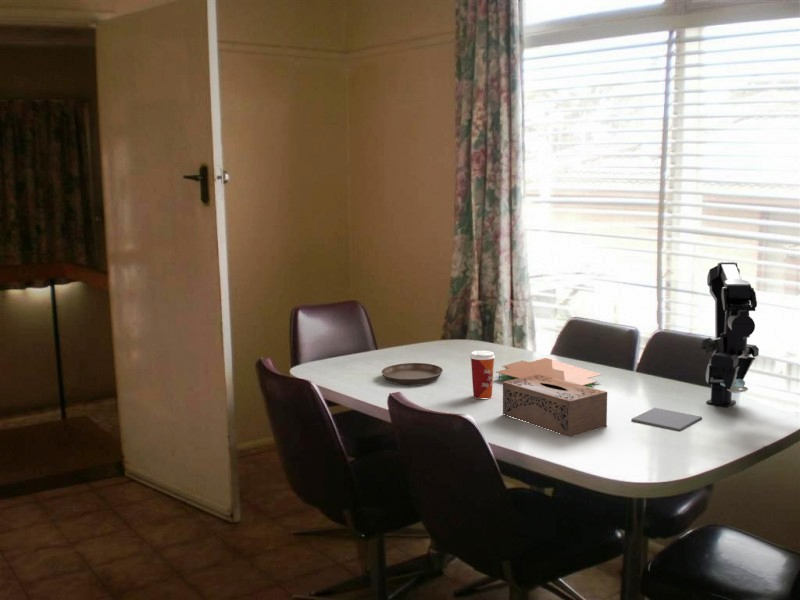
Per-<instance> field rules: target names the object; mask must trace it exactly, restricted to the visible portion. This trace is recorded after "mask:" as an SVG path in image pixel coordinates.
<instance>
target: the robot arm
mask: <svg viewBox="0 0 800 600" xmlns="http://www.w3.org/2000/svg"><path fill="white" fill-rule="evenodd" d="M740 272H741V271H740V269H739V268H738V263H737V262H735V261H720V262H718V263H717V265H716V266H714V267H712V268H710V269H709V270H708V273H707V277H706V278H707V281H706V282H707V287H709V294H710V295H711V296H712V299H713V300H714V302H715V304H714V310H715V311H714V313H715V318H714V319H715V321H714V322H715V325H714V326H715V335H714V336H715V338H711V337H708V338H704V339H702V342H701V343H700V344H701V346H700V349H701V350H703V351H704V354H706V355H707V354H710V353H712V352H713V353H712V355H711V356H710V357H709V363H708V364H707V367H706V371H705V382H706V383H707V385H710V399H709V400H707V401H705V402H706V404H708V405H715V406H720V407H726V408H728V407H730V406H731V405H734V404H735V403H736V400H734V399H733V398H732V395H733V392H730V391H728V390H727V389H731V386H732V384H733V381H734V379H742V380H744V379H745V377H746V376H747V373H748V372H749V370H750V368H751V367H752V365H753V363H754V361H756V357H759V354H760V351H759V350H760V349H759V347H758V346H757V345H755V344H751V343H750V344H748V338H750V337H751V335H752V334H753V333H754V331H755V329H756V324H755V321H754V319H753V318H752V317H751V316H750V312H755V311H756V308H757V307H758V300H757V295H756V291H755V288H754V287H752V285H751V283H750V282H749V281H747V280H744V279H742V276H741V273H740ZM751 356H752V357H751ZM736 374H737V376H736ZM735 376H736V378H735ZM720 383H724V384H725V386H722V385H720ZM735 384H736V383H735Z"/></svg>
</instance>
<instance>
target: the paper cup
mask: <svg viewBox="0 0 800 600" xmlns="http://www.w3.org/2000/svg"><path fill="white" fill-rule="evenodd" d="M494 353H495V352H493V351H490V350H474V351H472V352H471V354H470V356H469V358H470V363H471V366H470V367H471V380H472V392H473V398H474V397H476V398H490V397H491V396H493V383H494V382H493V381H494V365H495V364H494V363H495V358H496V356H495V354H494ZM476 398H475V399H476ZM491 398H492V397H491ZM491 398H490V399H491Z"/></svg>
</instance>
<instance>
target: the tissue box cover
mask: <svg viewBox="0 0 800 600" xmlns="http://www.w3.org/2000/svg"><path fill="white" fill-rule="evenodd" d="M503 414H505V415H508V416H511V417H514V418H517V419H520V420H523V421H526V422H529V423H531V424H534V425H537V426H540V427H543V428H542V429H544V428H546V429H545V430H547V429H549V430H548V431H550V430H552V431H551V432H553V431H554V433H556V432H557V433H556V434H559V433H560V434H559V435H561V436H566V437H568V438H572V437H575V435H576V436H578V435H581V434H586V433H589V432H592V431H595V430H600V429H603V428H605V427H608V425H607V424H608V423H607V421H608V391H606V390H602V389H598V388H594V387H591V386H589V387H588V385H584V386H583V385H579V384H576V383H572V382H568V381H564V380H560V379H556V378H553V377H549V376H545V375H541V374H536V375H532V376H527V377H523V378H519V379H517V378H514V380H512V379H509V381H508V380H507V381H506V380H504V381H502V415H503ZM531 424H530V425H531ZM534 425H533V426H534ZM537 426H536V427H537ZM540 427H539V428H540Z"/></svg>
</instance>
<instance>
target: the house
mask: <svg viewBox="0 0 800 600" xmlns="http://www.w3.org/2000/svg"><path fill="white" fill-rule="evenodd" d="M501 368H504V369H502V370H498V371H496V372H495V373H497V374H498V376H499V377H498V380H499V379H500V381H501V380H502V378H503V379H504V378H505V381H510V378H511V377H512V378H511V380H514V379H519V378H523V377H527V376H532V375H536V374H541V375H545V376H549V377H553V378H556V379H560V380H564V381H568V382H572V383H576V384H579V385H583V386H587V387H591V388H593V384H594V383H598V381H597V380H594V379H591V378H595V377H599V376H603V374H602V373H600V372H595V371H592V370H588V369H585V368H582V367H579V366H576V365H572V364H568V363H564V362H561V361H560V360H559V361H558V360H556V359H552V358H547V357H543V358H541V359H537V360H536V359H535V360H533V361H530V362H529V361H526V360H519V361H516V362H511V363H508V364H504V365H502V366H501ZM507 375H508V377H507ZM509 377H510V378H509ZM502 381H503V380H502Z"/></svg>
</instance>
